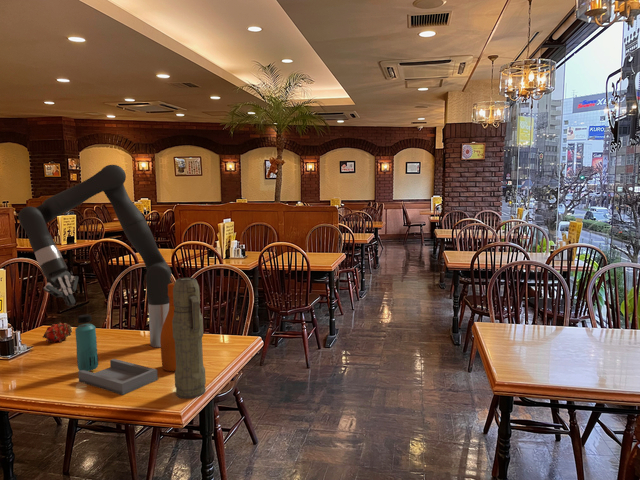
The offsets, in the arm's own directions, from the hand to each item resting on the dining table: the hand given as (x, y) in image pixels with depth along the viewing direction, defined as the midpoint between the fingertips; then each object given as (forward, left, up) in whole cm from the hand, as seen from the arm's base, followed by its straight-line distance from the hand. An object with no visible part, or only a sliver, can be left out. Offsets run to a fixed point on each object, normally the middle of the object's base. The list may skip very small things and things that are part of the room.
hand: (72, 305), depth 159 cm
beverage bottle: (-3, +9, -22) cm, 24 cm away
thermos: (-29, +45, -22) cm, 58 cm away
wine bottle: (-30, +21, -22) cm, 43 cm away
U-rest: (-11, +23, -22) cm, 34 cm away
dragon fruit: (+6, -38, -22) cm, 45 cm away
